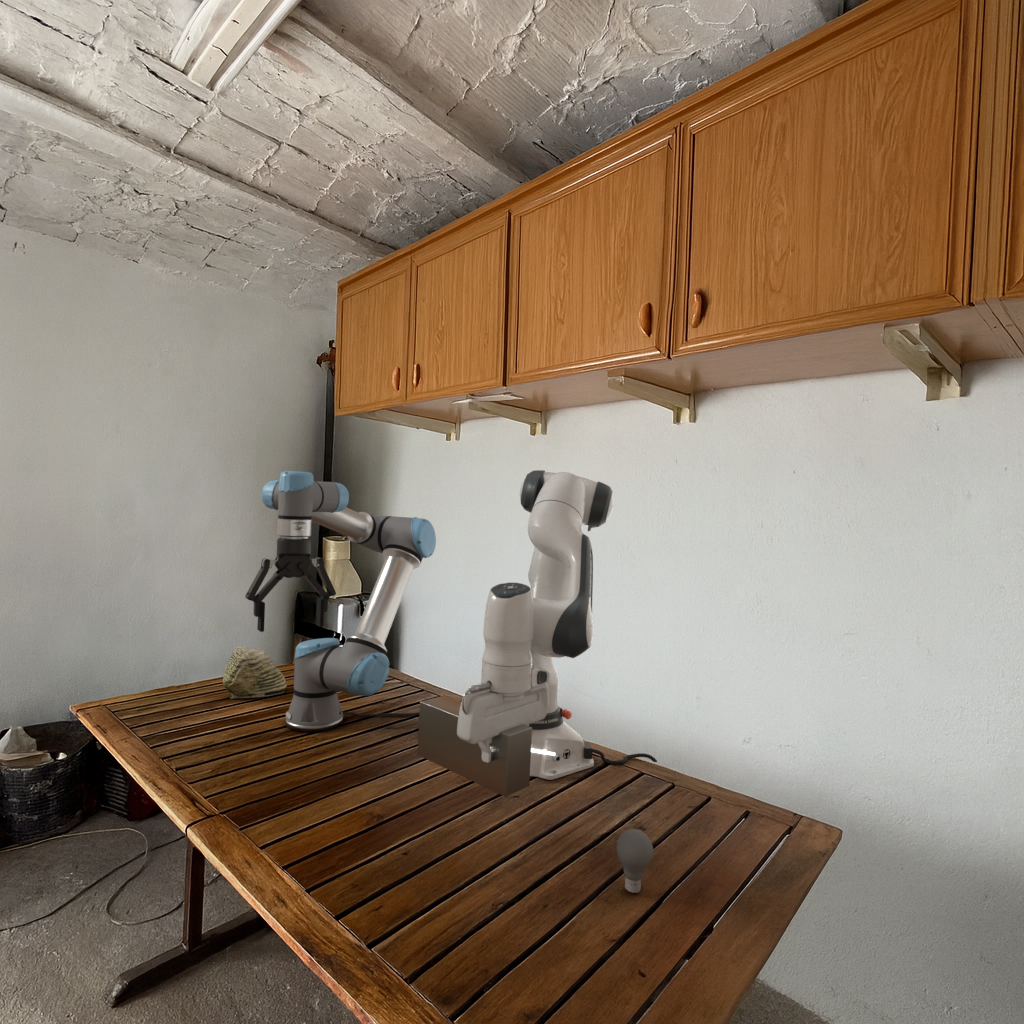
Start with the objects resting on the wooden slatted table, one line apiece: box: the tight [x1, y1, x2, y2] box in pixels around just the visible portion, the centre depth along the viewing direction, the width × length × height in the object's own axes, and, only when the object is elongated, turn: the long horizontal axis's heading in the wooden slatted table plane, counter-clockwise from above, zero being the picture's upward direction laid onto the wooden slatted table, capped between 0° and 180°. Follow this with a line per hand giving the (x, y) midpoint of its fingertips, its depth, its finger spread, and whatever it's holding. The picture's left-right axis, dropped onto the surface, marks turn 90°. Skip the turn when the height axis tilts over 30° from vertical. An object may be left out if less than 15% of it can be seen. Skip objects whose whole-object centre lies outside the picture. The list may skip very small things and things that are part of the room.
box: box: [417, 695, 532, 798], centre depth 117 cm, size 23×6×10 cm, turn 48°
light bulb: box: [615, 828, 654, 894], centre depth 106 cm, size 6×6×10 cm
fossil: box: [222, 646, 288, 699], centre depth 198 cm, size 9×18×15 cm, turn 132°
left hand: (290, 628), depth 148 cm, fingers open, 13 cm apart
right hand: (503, 754), depth 111 cm, fingers closed on box, 6 cm apart
